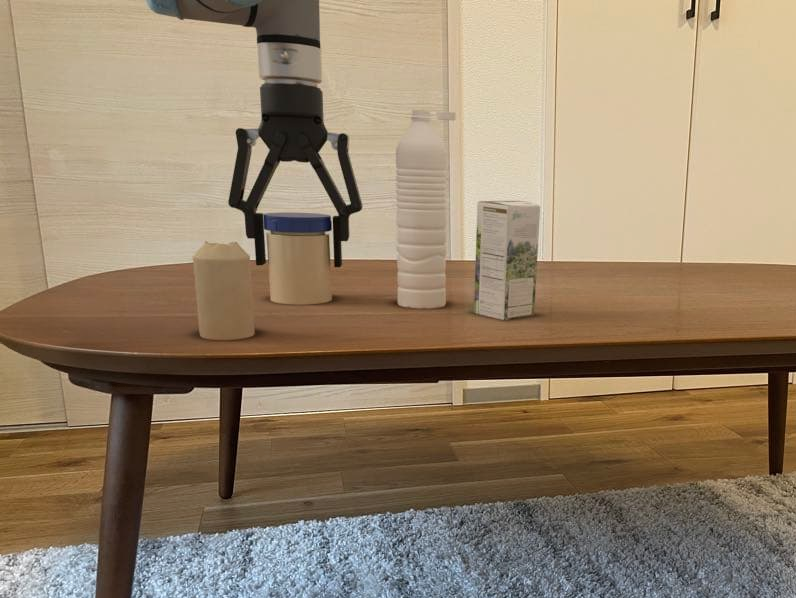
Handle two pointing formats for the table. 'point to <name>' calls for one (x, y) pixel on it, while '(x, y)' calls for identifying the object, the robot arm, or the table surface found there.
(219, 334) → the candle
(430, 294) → the water bottle
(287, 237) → the jar
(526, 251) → the syrup box
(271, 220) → the lid
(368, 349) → the table surface
